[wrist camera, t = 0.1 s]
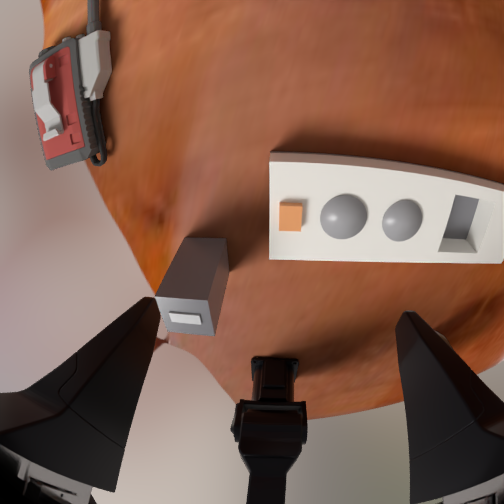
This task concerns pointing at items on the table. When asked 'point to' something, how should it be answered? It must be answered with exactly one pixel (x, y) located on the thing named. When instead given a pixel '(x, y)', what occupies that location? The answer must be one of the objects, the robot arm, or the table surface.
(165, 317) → the grey rectangular block
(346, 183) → the power strip
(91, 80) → the walkie-talkie
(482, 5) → the table surface
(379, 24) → the table surface
